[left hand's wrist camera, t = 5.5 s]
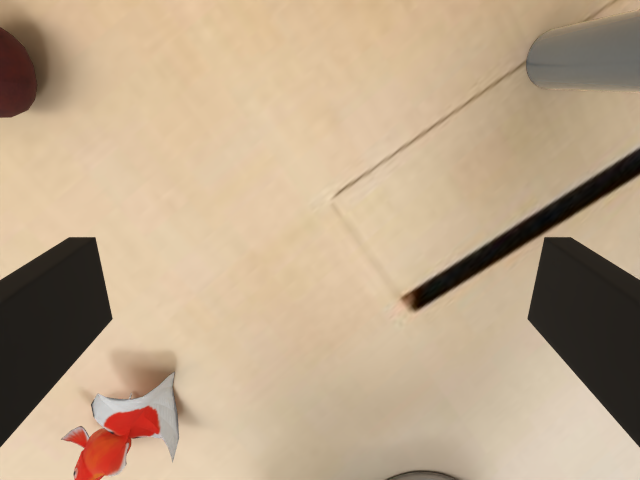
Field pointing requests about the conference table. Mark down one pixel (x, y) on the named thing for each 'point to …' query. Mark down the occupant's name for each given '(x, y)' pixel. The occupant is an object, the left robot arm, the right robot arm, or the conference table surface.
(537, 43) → the jar
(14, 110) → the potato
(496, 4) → the conference table surface
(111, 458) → the fish
